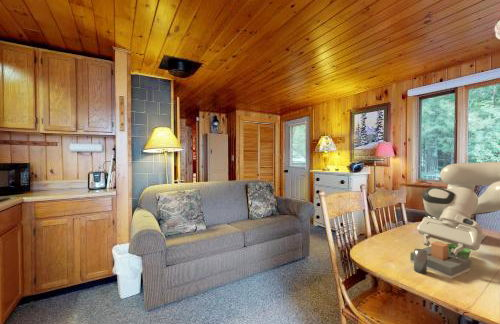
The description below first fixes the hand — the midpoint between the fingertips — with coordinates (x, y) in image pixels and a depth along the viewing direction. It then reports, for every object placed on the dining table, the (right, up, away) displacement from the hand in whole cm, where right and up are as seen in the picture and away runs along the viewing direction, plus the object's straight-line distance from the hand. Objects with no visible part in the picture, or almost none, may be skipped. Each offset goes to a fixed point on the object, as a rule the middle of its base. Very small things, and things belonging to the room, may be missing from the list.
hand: (438, 249), depth 93 cm
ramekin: (+14, -7, +8) cm, 17 cm away
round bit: (-10, -7, -3) cm, 13 cm away
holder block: (+1, -7, +1) cm, 7 cm away
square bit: (+1, -6, +1) cm, 6 cm away
